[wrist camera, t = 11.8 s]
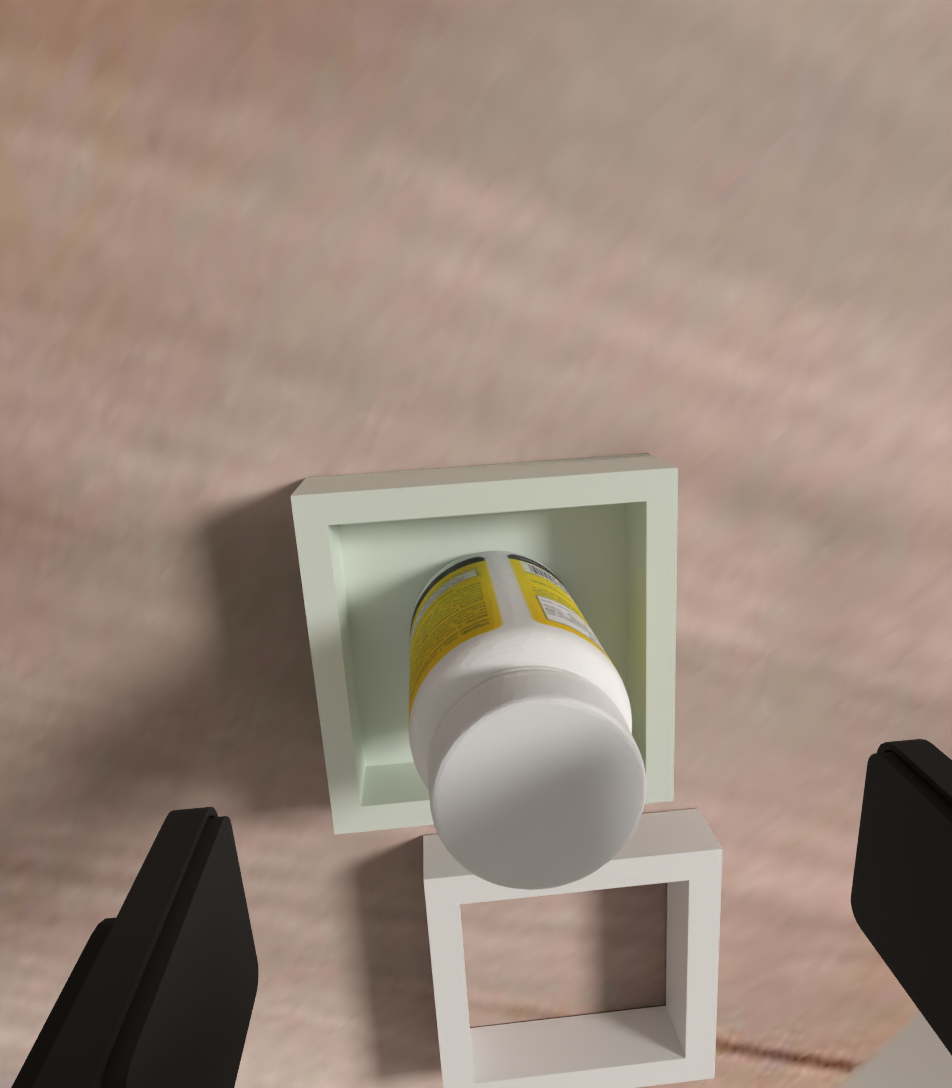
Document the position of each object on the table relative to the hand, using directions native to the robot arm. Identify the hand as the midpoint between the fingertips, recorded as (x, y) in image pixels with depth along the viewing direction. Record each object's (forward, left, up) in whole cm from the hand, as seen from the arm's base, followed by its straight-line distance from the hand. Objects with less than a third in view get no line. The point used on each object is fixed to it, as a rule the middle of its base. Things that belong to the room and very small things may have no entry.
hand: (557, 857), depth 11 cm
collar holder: (+12, +2, -11) cm, 17 cm away
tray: (+1, 0, -11) cm, 11 cm away
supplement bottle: (+1, 0, -11) cm, 11 cm away
